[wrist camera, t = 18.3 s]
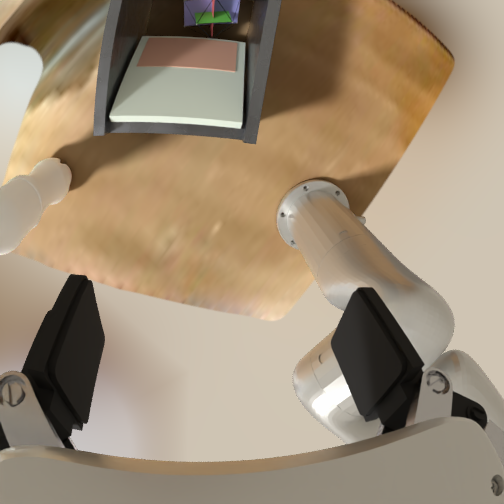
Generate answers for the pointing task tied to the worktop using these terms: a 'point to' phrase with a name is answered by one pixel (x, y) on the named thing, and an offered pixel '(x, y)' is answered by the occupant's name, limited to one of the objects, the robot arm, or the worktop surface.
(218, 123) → the trapdoor
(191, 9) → the geometric puzzle
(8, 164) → the worktop surface
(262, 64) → the bin
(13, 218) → the water bottle
